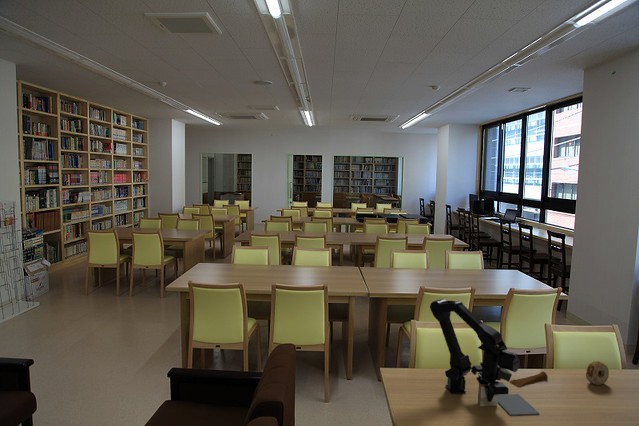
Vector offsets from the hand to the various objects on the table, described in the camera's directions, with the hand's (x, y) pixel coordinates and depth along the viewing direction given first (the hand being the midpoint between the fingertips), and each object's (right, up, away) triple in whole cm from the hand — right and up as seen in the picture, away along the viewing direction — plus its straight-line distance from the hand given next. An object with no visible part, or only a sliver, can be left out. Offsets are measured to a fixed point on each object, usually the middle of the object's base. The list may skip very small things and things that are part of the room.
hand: (487, 399), depth 166 cm
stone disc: (+57, -2, +20) cm, 60 cm away
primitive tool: (+27, -2, +20) cm, 34 cm away
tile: (0, -2, 0) cm, 2 cm away
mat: (+11, -2, 0) cm, 11 cm away
